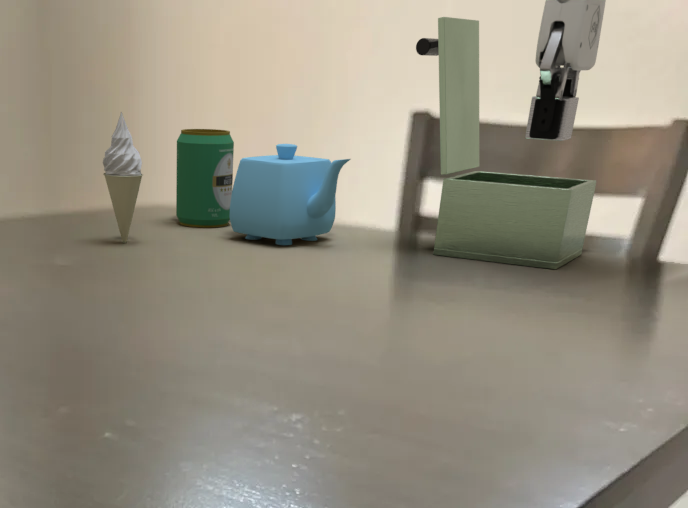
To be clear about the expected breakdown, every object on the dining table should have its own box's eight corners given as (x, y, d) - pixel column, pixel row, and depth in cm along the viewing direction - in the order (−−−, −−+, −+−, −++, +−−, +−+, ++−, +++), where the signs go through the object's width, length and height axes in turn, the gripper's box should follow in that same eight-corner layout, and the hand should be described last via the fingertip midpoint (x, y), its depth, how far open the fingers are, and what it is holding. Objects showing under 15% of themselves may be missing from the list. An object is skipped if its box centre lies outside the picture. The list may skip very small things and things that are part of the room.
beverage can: (212, 229, 137) (215, 134, 130) (165, 224, 140) (165, 130, 134) (241, 223, 142) (244, 131, 136) (195, 217, 146) (196, 127, 140)
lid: (479, 20, 121) (440, 28, 124) (444, 16, 112) (403, 25, 114) (479, 166, 128) (442, 170, 131) (446, 174, 119) (408, 178, 121)
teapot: (313, 255, 122) (320, 153, 116) (209, 236, 132) (211, 141, 126) (370, 244, 129) (380, 148, 123) (268, 227, 140) (272, 137, 134)
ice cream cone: (128, 238, 129) (126, 110, 121) (151, 243, 126) (150, 112, 118) (97, 241, 126) (93, 110, 119) (119, 247, 123) (116, 112, 115)
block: (571, 138, 118) (579, 97, 115) (561, 141, 114) (569, 98, 112) (534, 136, 120) (542, 95, 117) (524, 138, 116) (532, 96, 114)
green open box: (581, 254, 126) (596, 180, 122) (556, 269, 117) (571, 189, 113) (465, 241, 133) (476, 170, 129) (432, 254, 124) (443, 178, 119)
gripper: (600, -56, 100) (562, 143, 109) (634, -42, 112) (596, 135, 122) (528, -55, 103) (496, 139, 112) (568, -42, 115) (536, 131, 125)
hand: (549, 135), depth 117 cm, fingers closed on block, 4 cm apart
